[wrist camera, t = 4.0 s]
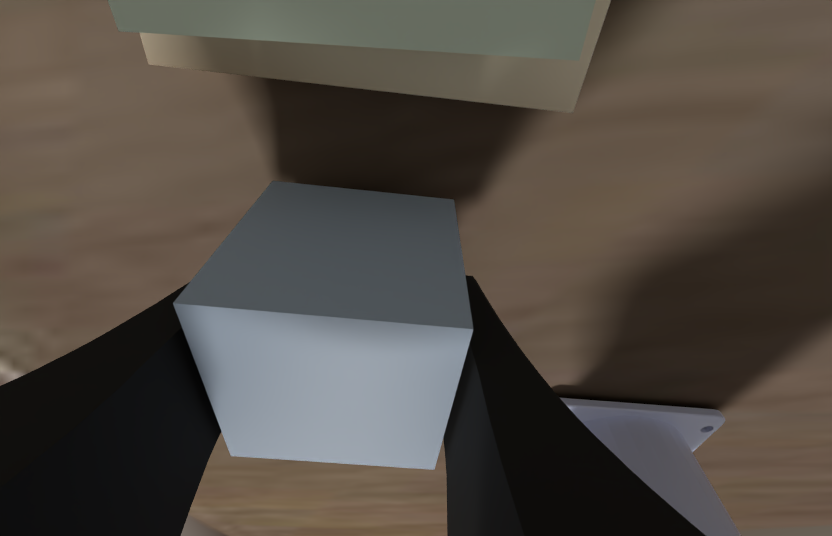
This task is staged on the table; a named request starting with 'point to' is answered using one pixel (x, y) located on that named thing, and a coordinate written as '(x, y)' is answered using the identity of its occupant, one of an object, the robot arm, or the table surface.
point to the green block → (376, 23)
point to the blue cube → (333, 326)
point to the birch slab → (390, 67)
